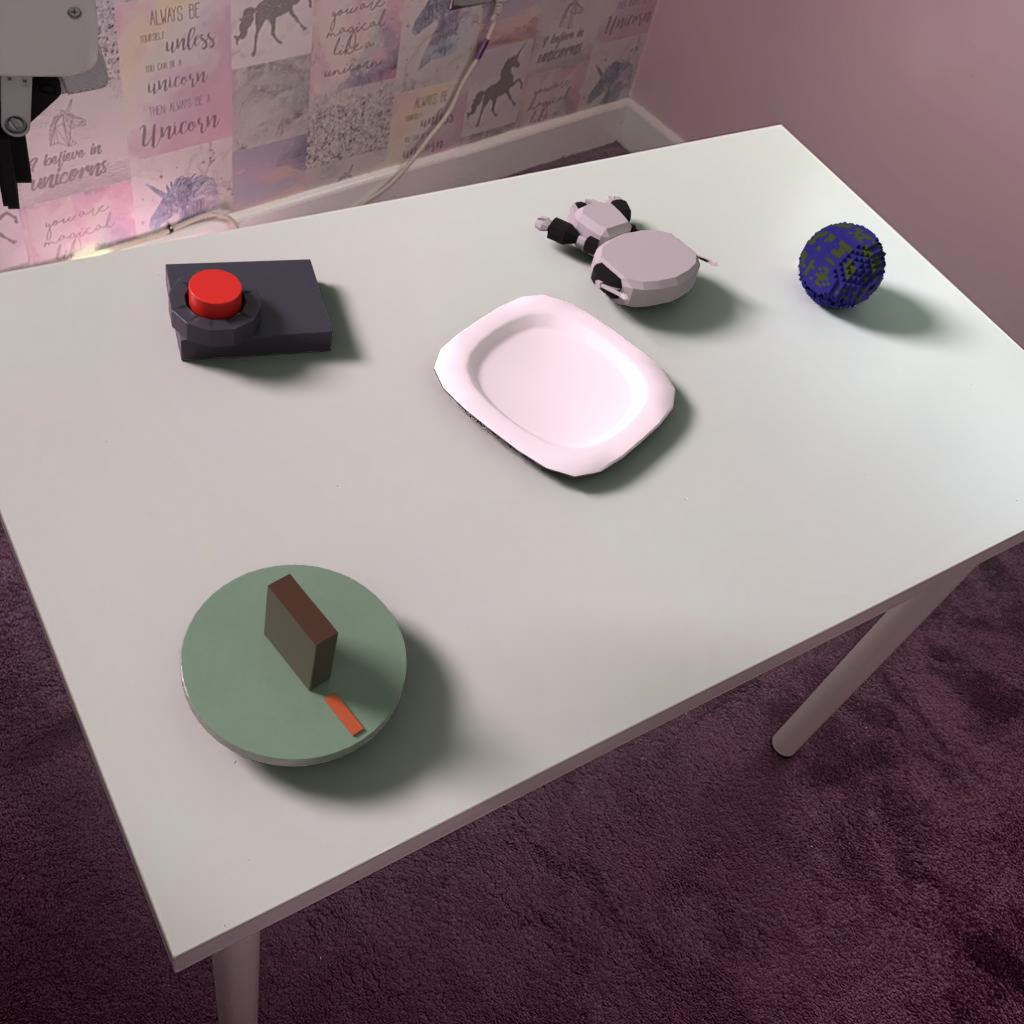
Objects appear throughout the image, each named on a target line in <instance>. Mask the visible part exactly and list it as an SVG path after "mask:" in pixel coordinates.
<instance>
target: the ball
mask: <svg viewBox="0 0 1024 1024" xmlns="http://www.w3.org/2000/svg"><path fill="white" fill-rule="evenodd" d="M886 255H887V252H885V251H884V246H883V243H882V242H880V239H879V236H877V235H876V233H874V231H872V230H871V229H869V228H868V227H865V225H862V224H861V225H860V224H858V223H856V224H855V223H854V222H848V221H847V222H846V221H843V222H841V221H840V222H838V223H837V222H835V223H833V224H832V223H830V224H829V225H826V226H824V227H822V228H820V230H817V231H815V232H814V234H813V235H812V236H811V237H810V238H809V239H807V241H806V243H805V244H804V247H803V249H802V250H801V252H800V254H799V257H798V265H797V268H798V272H799V273H797V276H798V281H799V282H801V286H802V288H803V289H804V290H805V294H806V295H807V296H808V297H809V298H811V299H812V300H813V301H814V302H815V303H816V304H817V305H819V306H820V305H821V306H824V307H828V308H833V309H838V310H839V309H845V308H846V309H848V308H854V307H856V306H858V305H860V304H862V303H863V302H866V301H867V300H869V298H870V297H871V296H873V294H874V293H875V292H876V291H877V290H878V288H879V287H880V285H881V283H882V281H883V280H884V279H885V277H884V276H885V275H884V274H886V269H885V268H886V266H887V262H886V257H885V256H886Z"/></svg>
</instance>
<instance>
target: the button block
mask: <svg viewBox="0 0 1024 1024" xmlns="http://www.w3.org/2000/svg"><path fill="white" fill-rule="evenodd" d="M312 263H313V262H312V260H311V259H309V258H305V259H304V258H303V259H281V260H280V259H277V260H274V259H273V260H251V261H250V260H245V261H221V262H217V261H216V262H190V263H188V262H187V263H166V264H165V266H164V268H165V270H164V271H165V286H166V291H167V292H166V293H167V301H168V302H167V303H168V314H169V319H170V323H171V327H172V328H173V329H174V330H175V331H174V332H175V334H176V335H175V337H176V340H177V346H178V350H179V356H180V360H181V361H195V360H196V361H197V360H210V359H211V360H212V359H226V358H227V359H228V358H241V357H243V358H244V357H257V356H258V357H259V356H269V355H270V356H271V355H273V356H274V355H286V354H287V355H288V354H301V353H317V352H319V353H320V352H330V351H331V350H332V343H333V336H334V330H333V327H332V324H331V321H330V318H329V314H328V311H327V308H326V305H325V301H324V299H323V295H322V291H321V289H320V286H319V282H318V279H317V276H316V273H315V269H314V267H313V264H312ZM210 269H216V270H222V271H226V272H229V273H231V274H232V275H234V276H235V277H236V278H237V279H238V280H239V281H240V283H241V285H242V306H241V309H240V311H239V312H238V313H237V314H236V315H235V316H233V317H231V318H229V319H223V320H210V319H207V318H204V317H201V316H199V315H197V314H196V313H195V312H194V311H193V310H192V309H191V307H190V305H189V281H190V279H191V278H192V277H193V276H194V275H195V274H196V273H198V272H201V271H204V270H210Z"/></svg>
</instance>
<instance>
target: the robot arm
mask: <svg viewBox="0 0 1024 1024" xmlns="http://www.w3.org/2000/svg"><path fill="white" fill-rule="evenodd" d="M109 80H110V79H109V74H108V68H107V63H106V60H105V56H104V54H103V52H102V49H101V45H100V43H99V22H98V9H97V0H0V196H1V201H2V206H3V207H7V209H8V210H20V209H21V207H20V197H19V187H18V184H33V177H32V169H31V162H30V155H29V149H28V140H27V135H28V134H29V132H30V130H31V123H32V122H33V121H35V120H36V118H38V117H39V116H40V115H41V114H43V112H44V111H46V110H47V108H49V107H50V106H51V105H53V103H54V102H55V101H56V100H58V99H59V98H60V96H61V95H66V94H67V95H74V94H75V95H76V94H79V93H80V94H81V93H84V92H91V91H96V90H100V89H104V88H105V87H107V86H108V84H109Z"/></svg>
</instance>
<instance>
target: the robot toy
mask: <svg viewBox="0 0 1024 1024" xmlns="http://www.w3.org/2000/svg"><path fill="white" fill-rule="evenodd" d="M631 219H632V209H631V207H630V206H629V203H628V201H627V200H624V199H623V198H622V197H621V196H618V195H616V196H612V195H608V196H607V197H606V199H605V202H604V201H598V200H596V199H592V198H591V199H590V198H585V200H584V201H576V202H573V203H572V205H571V206H570V209H569V214H568V218H567V221H566V220H564V219H562V218H560V217H554V218H553V219H551V218H549V216H544V215H540V216H538V217H537V218H536V219H535V220H534V223H533V224H534V225H533V226H534V228H535V229H537V231H540V232H547V233H546V234H547V235H546V238H547V239H549V240H550V241H553V242H554V243H558V244H560V245H562V246H563V245H564V246H565V245H574V246H575V247H576V248H577V249H579V250H580V251H581V252H583V253H586V254H588V255H589V256H591V257H593V258H592V261H591V265H590V269H589V273H590V279H591V282H592V284H593V285H594V287H596V288H597V289H599V290H600V291H602V292H603V294H604V295H606V296H607V297H608V298H609V299H611V300H613V301H614V302H616V303H617V304H618V305H622V306H625V307H626V306H627V307H630V308H645V307H653V306H656V305H662V304H666V303H671V302H674V301H676V300H677V299H678V298H680V297H682V296H683V295H685V294H687V293H688V292H689V291H690V290H691V289H692V288H693V287H694V284H695V281H696V279H697V276H698V273H699V270H700V267H701V263H700V261H703V262H705V263H707V264H710V266H712V267H719V263H718V261H716V260H712V259H709V258H707V257H705V256H702V255H700V254H698V253H696V252H695V250H693V249H692V248H690V247H689V246H688V245H687V244H686V243H684V242H683V241H682V240H681V239H680V238H678V237H677V236H675V235H674V234H673V233H672V232H668V231H663V230H658V229H648V230H647V229H645V230H643V229H642V230H639V229H638V227H637V225H636V224H633V223H631Z"/></svg>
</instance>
